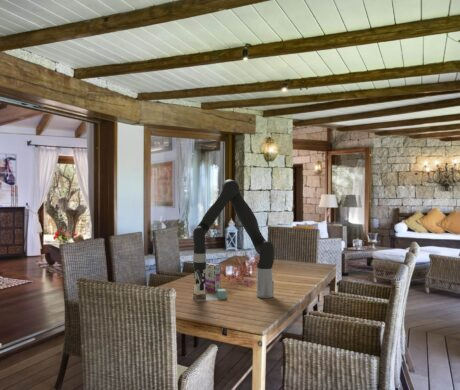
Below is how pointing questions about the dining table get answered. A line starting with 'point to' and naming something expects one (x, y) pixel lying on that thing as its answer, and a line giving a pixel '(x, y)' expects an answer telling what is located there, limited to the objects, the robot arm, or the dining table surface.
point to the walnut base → (199, 296)
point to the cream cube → (198, 289)
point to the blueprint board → (209, 297)
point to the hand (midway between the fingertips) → (199, 288)
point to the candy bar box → (212, 276)
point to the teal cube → (221, 293)
